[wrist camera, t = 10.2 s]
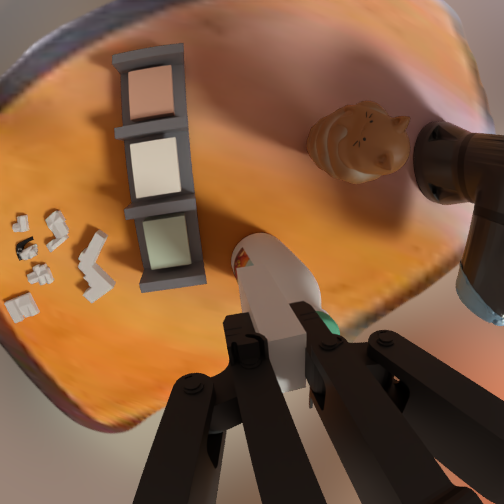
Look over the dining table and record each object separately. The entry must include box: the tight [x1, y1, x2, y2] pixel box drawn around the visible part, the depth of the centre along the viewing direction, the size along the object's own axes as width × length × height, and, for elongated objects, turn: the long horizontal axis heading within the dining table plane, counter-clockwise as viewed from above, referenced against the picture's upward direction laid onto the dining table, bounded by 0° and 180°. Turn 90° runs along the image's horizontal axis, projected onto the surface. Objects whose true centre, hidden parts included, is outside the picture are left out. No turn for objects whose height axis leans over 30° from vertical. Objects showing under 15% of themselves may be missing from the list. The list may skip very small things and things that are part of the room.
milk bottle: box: [231, 233, 340, 335], centre depth 31 cm, size 8×8×20 cm
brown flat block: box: [128, 65, 175, 122], centre depth 28 cm, size 5×6×2 cm
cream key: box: [130, 137, 181, 198], centre depth 30 cm, size 5×6×2 cm
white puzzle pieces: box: [4, 210, 116, 323], centre depth 32 cm, size 20×24×2 cm
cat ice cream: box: [307, 101, 410, 184], centre depth 28 cm, size 9×8×18 cm
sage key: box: [143, 212, 191, 270], centre depth 34 cm, size 5×6×2 cm
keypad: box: [112, 43, 207, 293], centre depth 31 cm, size 8×28×6 cm, turn 5°
